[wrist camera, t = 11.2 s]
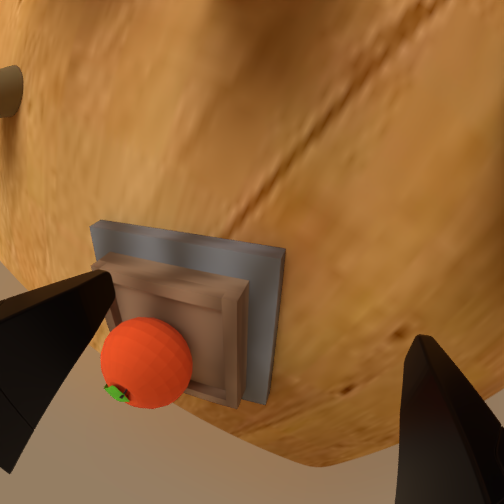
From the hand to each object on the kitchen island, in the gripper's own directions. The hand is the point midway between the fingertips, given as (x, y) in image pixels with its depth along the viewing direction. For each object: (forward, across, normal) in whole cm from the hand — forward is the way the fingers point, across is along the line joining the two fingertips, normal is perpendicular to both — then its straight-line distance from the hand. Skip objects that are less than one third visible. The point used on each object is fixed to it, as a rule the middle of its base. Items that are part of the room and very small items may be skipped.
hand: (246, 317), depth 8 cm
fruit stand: (+12, +9, +12) cm, 19 cm away
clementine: (+9, +10, +12) cm, 18 cm away
